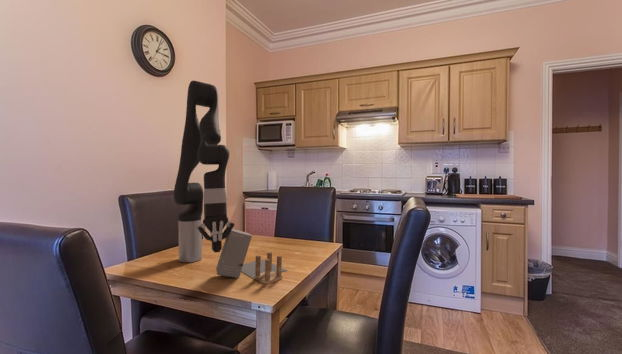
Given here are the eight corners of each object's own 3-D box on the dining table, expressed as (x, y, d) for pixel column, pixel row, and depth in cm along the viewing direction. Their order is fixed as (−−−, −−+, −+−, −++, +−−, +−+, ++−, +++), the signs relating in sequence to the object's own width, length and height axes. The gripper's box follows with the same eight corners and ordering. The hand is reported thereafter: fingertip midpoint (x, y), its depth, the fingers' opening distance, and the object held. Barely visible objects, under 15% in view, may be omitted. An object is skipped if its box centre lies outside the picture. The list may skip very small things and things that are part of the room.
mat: (232, 267, 117) (232, 266, 117) (263, 260, 126) (263, 259, 126) (253, 279, 103) (253, 278, 103) (287, 271, 112) (287, 270, 112)
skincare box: (216, 275, 102) (229, 230, 103) (215, 268, 108) (227, 226, 110) (240, 279, 104) (252, 235, 106) (238, 272, 111) (249, 231, 112)
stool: (254, 278, 103) (254, 255, 103) (269, 273, 108) (269, 251, 108) (266, 285, 98) (267, 261, 98) (282, 279, 104) (282, 256, 103)
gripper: (229, 200, 109) (231, 247, 109) (192, 202, 101) (193, 253, 101) (237, 200, 103) (239, 250, 103) (198, 203, 95) (200, 257, 95)
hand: (216, 251), depth 102 cm, fingers closed
